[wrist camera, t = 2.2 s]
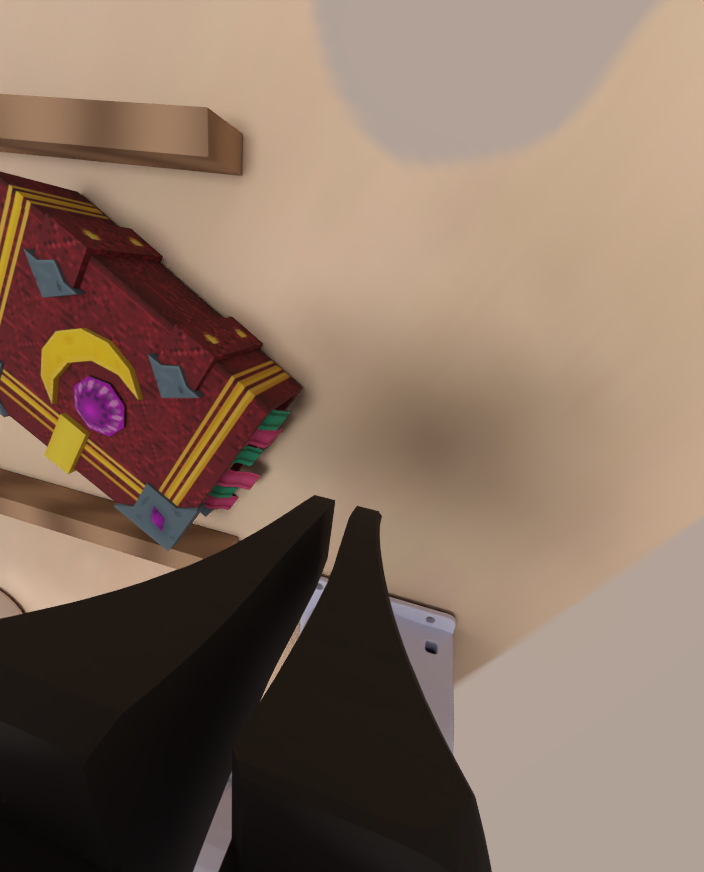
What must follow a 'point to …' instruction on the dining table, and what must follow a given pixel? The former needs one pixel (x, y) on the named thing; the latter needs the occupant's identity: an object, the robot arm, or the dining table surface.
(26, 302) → the decorative book
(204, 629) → the robot arm
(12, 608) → the milk bottle
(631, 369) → the dining table surface
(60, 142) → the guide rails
